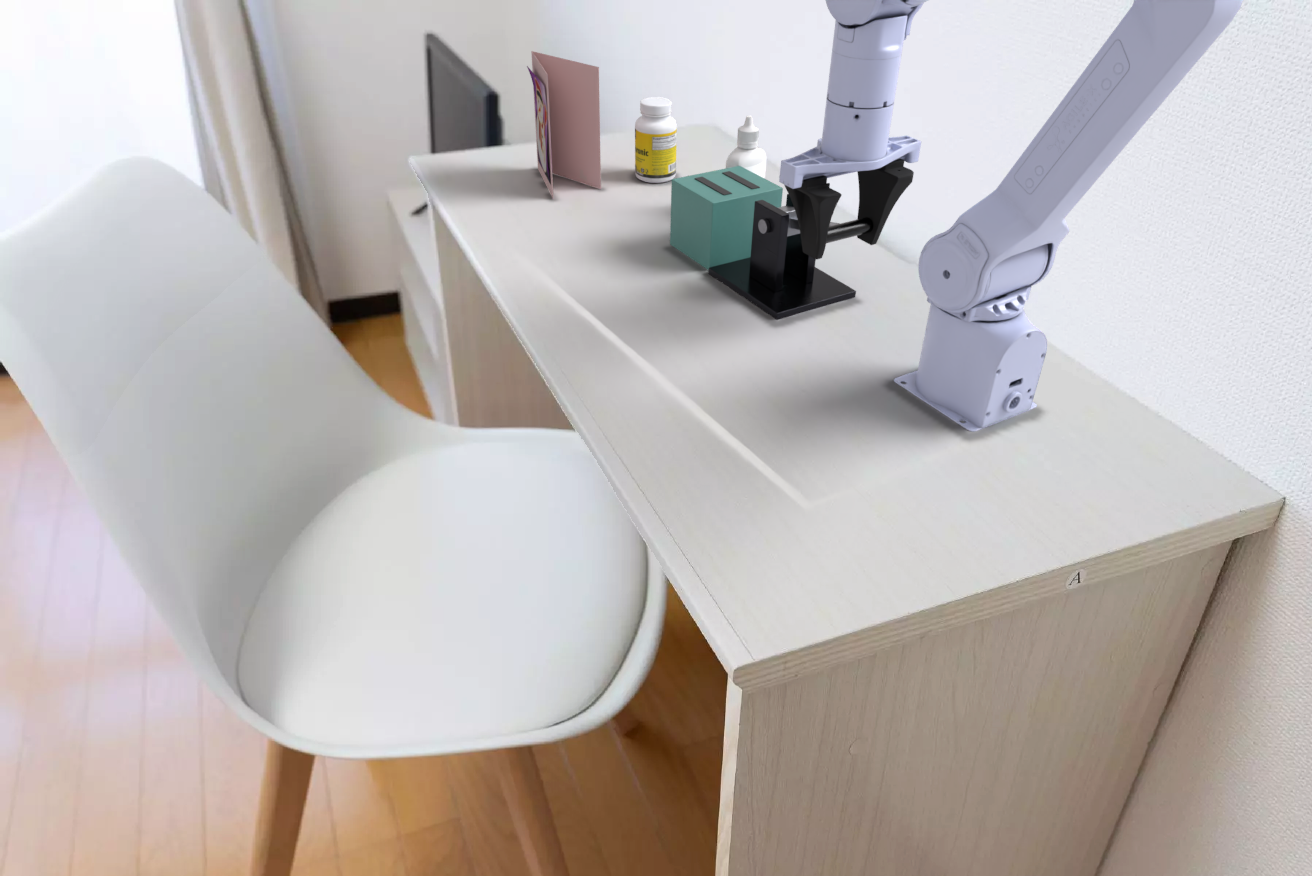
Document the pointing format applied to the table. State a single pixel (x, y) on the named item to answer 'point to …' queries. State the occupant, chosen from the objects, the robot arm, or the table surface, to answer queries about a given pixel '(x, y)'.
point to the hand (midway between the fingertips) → (840, 247)
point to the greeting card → (566, 119)
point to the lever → (832, 226)
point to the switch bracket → (779, 269)
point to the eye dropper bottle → (748, 150)
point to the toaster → (717, 213)
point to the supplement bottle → (655, 141)
